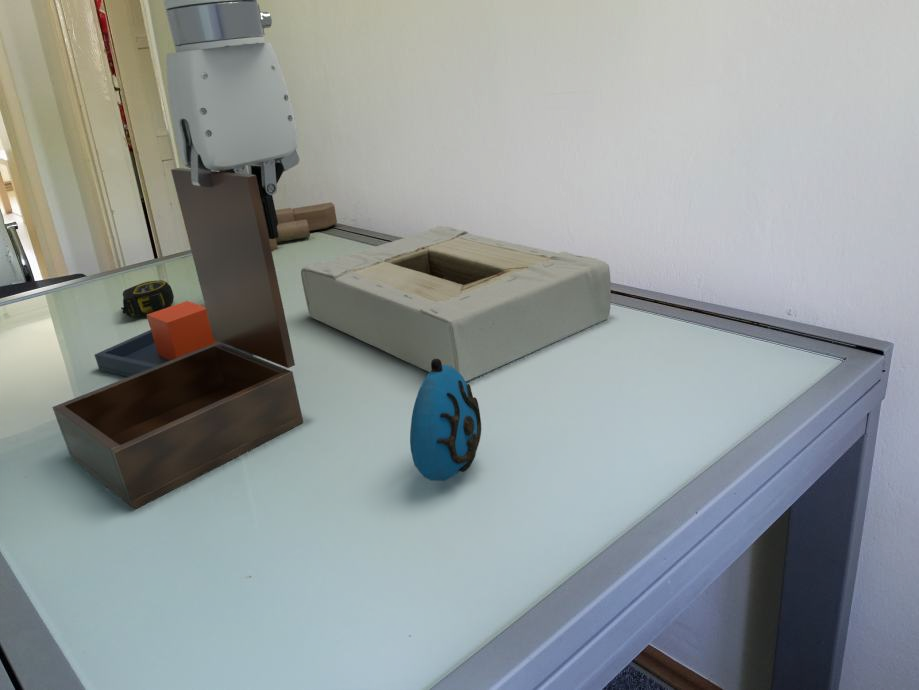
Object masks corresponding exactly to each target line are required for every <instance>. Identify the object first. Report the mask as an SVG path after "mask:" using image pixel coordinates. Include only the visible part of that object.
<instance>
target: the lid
mask: <svg viewBox="0 0 919 690" xmlns="http://www.w3.org/2000/svg"><path fill="white" fill-rule="evenodd" d="M170 172H171V176H172V180H173V183H174V189H175V192H176V195H177V199H178V204H179V207H180V211H181V215H182V219H183V223H184V227H185V231H186V235H187V239H188V243H189V247H190V251H191V255H192V259H193V264H194V267H195V271H196V275H197V279H198V284H199V287H200V290H201V291H200V292H201V295H202V299H203V303H204V307H206V311H207V315H208V319H209V323H210V327H211V331H212V335H213V339H215V340H217V341H220V342H222V343H225V344H227V345H230V346H233V347H235V348H238V349H240V350H243V351H245V352H248V353H250V354H253V355H252V356H255V357H257V358H260V359H262V360H265V361H267V362H270V363H272V364H275V365H278V366H280V367H283V368H285V369H290V368H292V367H294V366H296V363H295V358H294V353H293V348H292V343H291V339H290V333H289V329H288V325H287V320H286V314H285V309H284V305H283V299H282V296H281V290H280V285H279V281H278V276H277V275H278V274H277V271H276V266H275V261H274V256H273V250H272V251H271V246H270V241H269V237H268V232H267V227H266V222H265V217H264V212H263V208H262V203H261V198H260V193H259V188H258V183H257V179H256V175H251V174H249V173H248V174H240V173H228V172H219V171H214V170H212V172H213V173H210V176H211V180H212V184H213V187H200V186H195V185H193V184H192V181H191V168H181V167H176V168H173V169H170Z"/></svg>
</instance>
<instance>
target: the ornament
mask: <svg viewBox="0 0 919 690" xmlns="http://www.w3.org/2000/svg"><path fill="white" fill-rule="evenodd" d="M414 400H415V401H414V404H413V409H412V413H411V414H412V415H411V421H410V429H409V444H410V445H409V446H410V453H411V457H412V461H413V464H414V467H415V468H416V470H417V471H418V472H419V473H420V475H421V476H422V477H423V478H424V479H426V480H428V481H431V482H445V481H447V480H449V479H450V478H453V477H454V476H455V475H457V474H459V473H460V472H461V473H465V472H466V471H467V470H468V469H469V468H470V467H471V465H472V464H473V462H474V460H475V457H476V455H477V450H478V449H479V448H478V447H479V444H480V441H481V437H482V419H481V411H480V406H479V402H478V401H479V400H478V399H477V397H475V396H473V392H472V387H471V384H469V383H468V382H467V381H465V380H464V378H463V377H462V375H461V374H460V373H459V372H458V371H457V370H456V369H454V368H453V367H452V366H449V365H442V363H441V361H440V360H439V359H437V358H436V359H433V360H432V361H431V371H430V372H428V374H427V375H426V376H425V378H424V379H423V380H422V383H421V385H420V387H419V390H418V392H417V394H416V398H415V399H414Z"/></svg>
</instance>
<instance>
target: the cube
mask: <svg viewBox="0 0 919 690" xmlns="http://www.w3.org/2000/svg"><path fill="white" fill-rule="evenodd" d="M146 318H147V321H148V324H149V328H150V330H151V332H152V335H153V339H154V342H155V345H156V349H157V352H158V355H160V356H162V357H164V358H166V359H168V360H173V359H176V358H178V357H181V356H184V355H186V354H189V353H191V352H194V351H196V350H199V349H201V348H204V347H206V346H209V345H212V344H214V343H217V340H215V339H213V335H212V331H211V327H210V323H209V319H208V315H207V311H206V307H205V305H204V306H203V305H200V304H198V303H194V302H192V301H189V300H186V301H183V302H180V303H177V304H174V305H170V306H169V307H167V308H165V309H162V310H159V311H156V312H153V313H150V314H146Z"/></svg>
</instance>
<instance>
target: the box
mask: <svg viewBox="0 0 919 690" xmlns="http://www.w3.org/2000/svg"><path fill="white" fill-rule="evenodd" d="M610 270H611V269H610V265H609V264H608V262H606V261H604V260H602V259H599V258H596V257H591V256H585V255H584V256H583V255H576V254H573V253H571V252H569V251H560V252H554V251H550V250H545V249H541V248H536V247H532V246H527V245H523V244H519V243H514V242H508V241H504V240H500V239H495V238H490V237H486V236H481V235H476V234H472V233H469V232H468V231H467V230H461V229H457V228H454V227H450V226H443V225H442V226H441V225H440V226H436V227H433V228H431V229H428V230H425V231H423V232H419V233H416V234H412V235H409V236H406V237H403V238H399V239H397V240H393V241H392V240H391V241H389V242H386V243H383V244H380V245H375V246H373V247H369V248H366V249H362V250H358V251H356V252H353V253H349V254H345V255H342V256H339V257H335V258H332V259H329V260H326V261H319V262H315V263H311V264H308V265H305V266H303V267H302V268H301V270H300V277H301V282H302V283H301V284H302V289H303V295H304V297H305V299H304V300H305V302H306V303H305V304H306V307H307V310H308V314H309V316H310V317H311V318H312V319H314V320H316V321H318V322H320V323H323V324H325V325H327V326H330V327H331V328H334V329H336V330H338V331H340V332H342V333H344V334H347V335H349V336H351V337H354V338H355V339H357V340H359V341H361V342H363V343H366V344H368V345H370V346H373V347H375V348H377V349H379V350H381V351H383V352H385V353H387V354H389V355H392V356H394V357H396V358H397V359H400V360H402V361H404V362H407V363H409V364H411V365H412V366H415V367H417V368H420V369H422V370H424V371H426V372H428V373H429V372H430V371H431V361H432V360H433V359H436V358H437V359H439V360H440V361H441V363H442V365H449V366H452V367H453V368H454V369H456V370H457V371H458V372H459V373H460V374H461V375H462V377H463V378H464V380H465V381H466V382H468V381H471V380H473V379H475V378H478V377H479V376H480V377H481V376H482V375H484V374H486V373H488V372H490V371H493V370H496V369H497V368H500V367H502V366H504V365H507V364H509V363H511V362H514V361H515V360H518V359H520V358H522V357H525V356H527V355H529V354H531V353H533V352H536V351H538V350H541V349H542V348H546V347H547V346H549V345H552V344H554V343H556V342H558V341H561V340H563V339H565V338H567V337H569V336H572V335H574V334H578V332H581V331H583V330H586V329H588V328H590V327H592V326H595V325H596V324H599V323H602V322H603V321H605V320H607V319H608V318H609V316H610V313H611V304H612V303H611V302H612V301H611V299H612V298H611V295H612V292H611V289H612V288H611V271H610Z"/></svg>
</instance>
